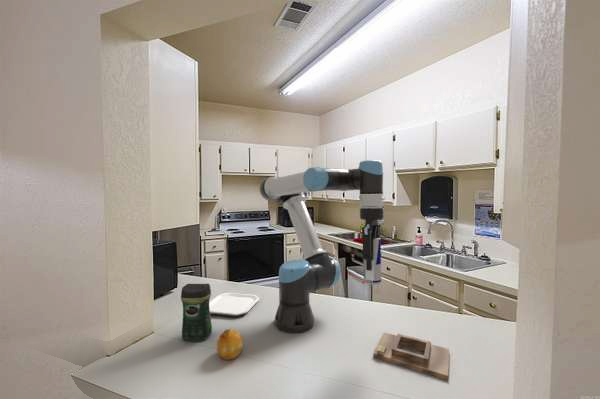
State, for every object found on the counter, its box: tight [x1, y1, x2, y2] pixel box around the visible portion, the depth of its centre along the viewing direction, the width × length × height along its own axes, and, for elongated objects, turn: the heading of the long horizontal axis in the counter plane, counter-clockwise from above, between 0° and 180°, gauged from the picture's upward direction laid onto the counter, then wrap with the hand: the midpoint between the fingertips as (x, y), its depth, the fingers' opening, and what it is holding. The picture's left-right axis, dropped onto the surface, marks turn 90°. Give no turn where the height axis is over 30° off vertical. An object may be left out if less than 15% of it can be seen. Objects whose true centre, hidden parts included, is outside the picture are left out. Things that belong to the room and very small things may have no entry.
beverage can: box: [362, 237, 382, 286], centre depth 88 cm, size 6×6×15 cm
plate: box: [209, 292, 260, 317], centre depth 118 cm, size 21×21×2 cm
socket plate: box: [372, 331, 450, 381], centre depth 82 cm, size 20×14×3 cm
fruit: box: [216, 328, 244, 360], centre depth 83 cm, size 8×8×8 cm
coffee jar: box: [180, 283, 213, 342], centre depth 93 cm, size 10×8×19 cm
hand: (372, 277), depth 88 cm, fingers closed on beverage can, 5 cm apart
